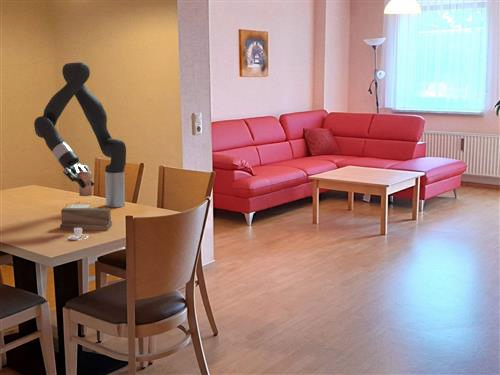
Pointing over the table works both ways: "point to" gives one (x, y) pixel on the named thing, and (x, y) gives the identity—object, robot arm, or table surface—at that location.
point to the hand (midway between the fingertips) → (88, 185)
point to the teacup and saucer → (77, 234)
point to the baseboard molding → (78, 206)
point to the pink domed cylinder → (87, 180)
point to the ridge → (86, 218)
